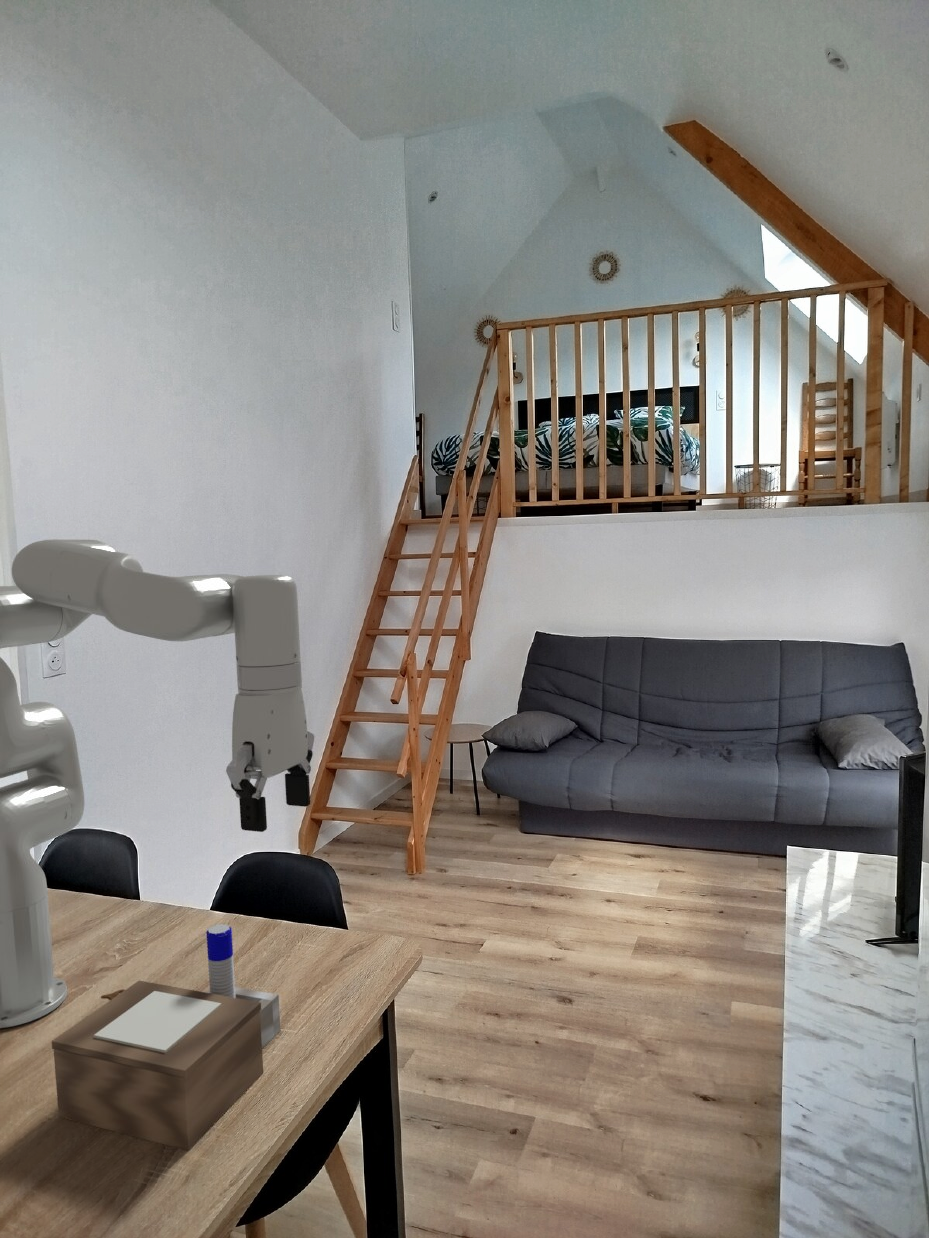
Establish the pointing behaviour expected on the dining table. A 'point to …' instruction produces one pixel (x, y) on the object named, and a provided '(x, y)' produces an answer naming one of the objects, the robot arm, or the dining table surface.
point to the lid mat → (158, 1021)
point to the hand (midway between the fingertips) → (277, 817)
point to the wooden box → (164, 1067)
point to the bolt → (221, 960)
